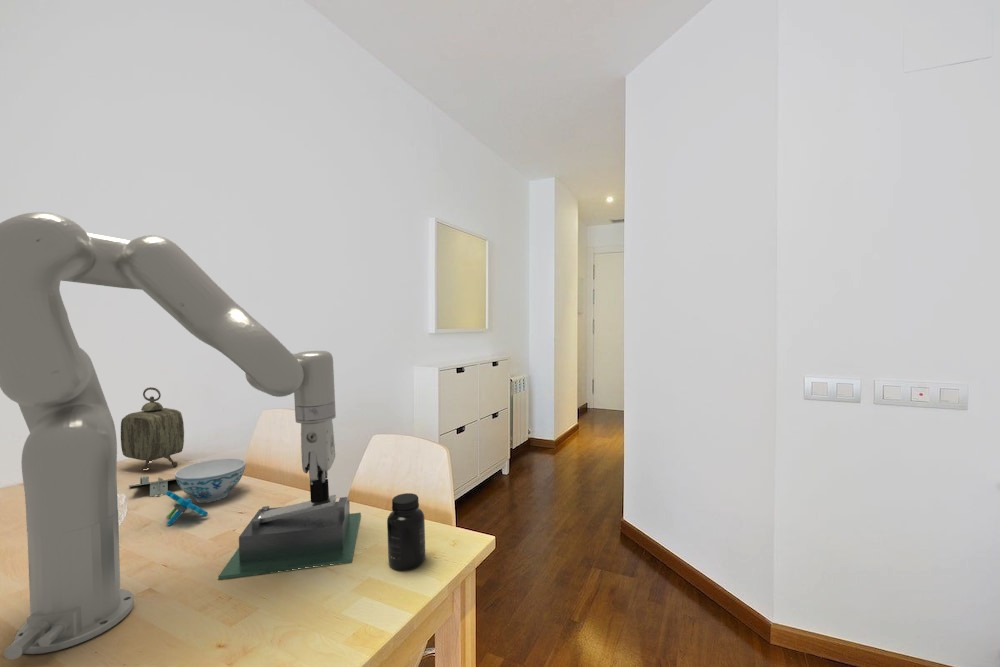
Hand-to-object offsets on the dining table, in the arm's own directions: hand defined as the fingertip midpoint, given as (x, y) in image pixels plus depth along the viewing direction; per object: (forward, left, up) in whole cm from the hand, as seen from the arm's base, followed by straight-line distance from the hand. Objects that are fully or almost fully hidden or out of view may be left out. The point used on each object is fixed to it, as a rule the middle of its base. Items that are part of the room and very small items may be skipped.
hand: (320, 500), depth 87 cm
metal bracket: (+40, +47, -9) cm, 62 cm away
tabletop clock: (+58, +58, -8) cm, 83 cm away
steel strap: (0, +4, -2) cm, 5 cm away
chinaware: (+30, +31, -8) cm, 44 cm away
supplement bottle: (-12, -17, -8) cm, 23 cm away
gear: (+17, +32, -9) cm, 37 cm away
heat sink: (0, +4, -8) cm, 9 cm away
